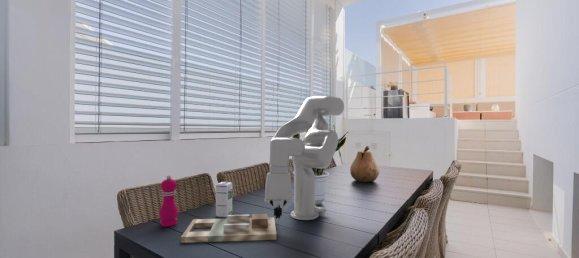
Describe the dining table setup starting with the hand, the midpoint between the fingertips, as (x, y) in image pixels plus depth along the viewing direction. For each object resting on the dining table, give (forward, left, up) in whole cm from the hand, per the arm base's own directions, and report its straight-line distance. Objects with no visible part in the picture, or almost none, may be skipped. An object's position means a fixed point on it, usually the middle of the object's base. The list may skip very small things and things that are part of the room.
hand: (277, 217), depth 108 cm
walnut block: (+7, -1, -3) cm, 8 cm away
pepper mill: (+44, -11, -5) cm, 46 cm away
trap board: (+17, -1, -5) cm, 18 cm away
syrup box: (+23, -21, -5) cm, 31 cm away
